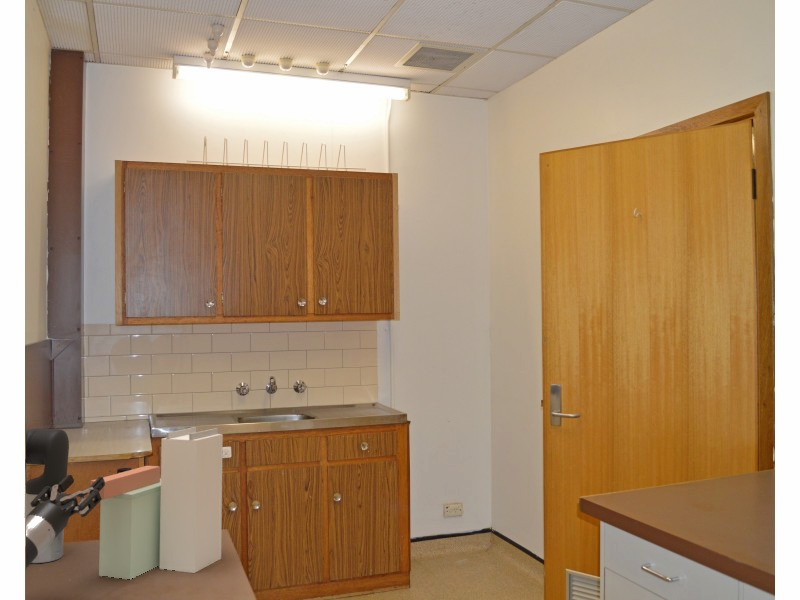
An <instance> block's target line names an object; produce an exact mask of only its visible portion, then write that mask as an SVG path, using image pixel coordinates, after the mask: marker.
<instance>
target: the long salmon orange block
mask: <svg viewBox="0 0 800 600" xmlns="http://www.w3.org/2000/svg"><path fill="white" fill-rule="evenodd" d="M102 477H103V476H102ZM160 478H161V465H160V466H158V465H144V466H141V467H138V468H137V467H136V468H134V469H132V470H129V471H125V472H122V473H118V474H117V473H115V474H111V475H108V476H104V477H103V479H104V481H105V486H104V487H103V488H102V489H101V490H100V491H99V493H100V496H101V498H102V500H104V499H108V498H111V497H114V496H117V495H120V494H124V493H127V492H130V491H133V490H136V489H140V488H143V487H146V486H149V485H152V484H156V483H159V482H160ZM96 480H97V478H96V479H92V480H89V487H90V486H91V485H92V484H93V483H94V482H95V481H96Z"/></svg>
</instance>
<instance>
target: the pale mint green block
mask: <svg viewBox="0 0 800 600" xmlns="http://www.w3.org/2000/svg"><path fill="white" fill-rule="evenodd" d="M160 506H161V477H160V482H159V483H156V484H152V485H149V486H146V487H143V488H140V489H136V490H133V491H130V492H127V493H124V494H120V495H117V496H114V497H111V498H108V499H104V500H101V501H100V508H99V509H100V510H99V512H100V513H99V515H100V516H99V559H98V560H99V561H98V562H99V563H98V576H99V577H102V576H108V577H107V578H111V577H114V578H113V579H119V578H122V579H121V580H127V579H130V580H129V581H131V580H133V579H135V578H137V577H136V576H138V577H140V576H141V574H142V575H144V574H146V573H147V571H148V572H150V571H152V570H154V569H156V568H158V567H160V566H159V565H160ZM157 566H158V567H157ZM155 567H156V568H155ZM153 568H154V569H153ZM151 569H152V570H151ZM149 570H150V571H149ZM145 572H146V573H145ZM143 573H144V574H143ZM139 575H140V576H139ZM132 578H133V579H132Z"/></svg>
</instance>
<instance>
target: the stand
mask: <svg viewBox="0 0 800 600" xmlns="http://www.w3.org/2000/svg"><path fill="white" fill-rule="evenodd" d="M165 436H166V437H164V438H161V456H160V458H161V459H160V460H161V461H160V478H161V506H160V566H158V567H159V570H164V569H167V570H166V571H172V570H175V571H174V572H181V573H190V574H195V573H197V572H200V571H201V570H202V569H204V568H207V567H209V566H210V565H212V564H214V563H216V562H217V561H220V560H221V559H222V528H223V527H222V524H223V523H222V517H223V516H222V513H223V510H222V509H223V504H222V503H223V447H224V446H223V440H224V439H223V437H224V435H223V433H219V428H218V427H215V428H210V429H206V430H201V431H197V427H196V426H193V427H189V428H183V429H179V430H178V429H177V430H174V431H169V432H166V435H165Z"/></svg>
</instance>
